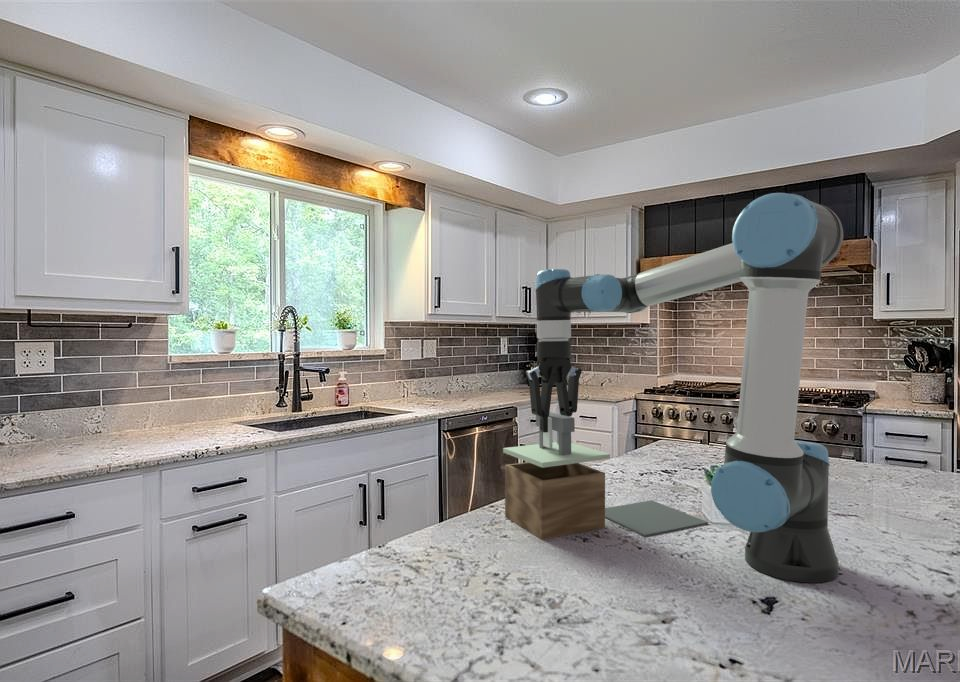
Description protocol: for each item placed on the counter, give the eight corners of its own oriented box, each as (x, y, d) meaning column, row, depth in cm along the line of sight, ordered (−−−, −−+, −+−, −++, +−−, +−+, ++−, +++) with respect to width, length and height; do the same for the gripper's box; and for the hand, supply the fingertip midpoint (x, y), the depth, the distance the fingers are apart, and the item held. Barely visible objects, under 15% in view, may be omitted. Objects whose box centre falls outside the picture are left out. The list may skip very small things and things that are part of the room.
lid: (610, 458, 128) (609, 417, 128) (542, 467, 120) (541, 423, 120) (565, 445, 143) (565, 408, 143) (503, 452, 136) (502, 413, 136)
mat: (708, 523, 131) (708, 522, 131) (644, 536, 123) (644, 534, 123) (651, 501, 147) (651, 500, 147) (592, 512, 139) (592, 510, 139)
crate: (604, 527, 129) (605, 472, 128) (541, 539, 122) (541, 481, 121) (563, 507, 143) (563, 457, 143) (505, 516, 136) (504, 464, 136)
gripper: (574, 339, 138) (575, 439, 139) (513, 340, 131) (514, 446, 132) (593, 339, 131) (594, 445, 132) (530, 341, 124) (532, 452, 125)
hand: (554, 445), depth 132 cm, fingers closed on lid, 3 cm apart
